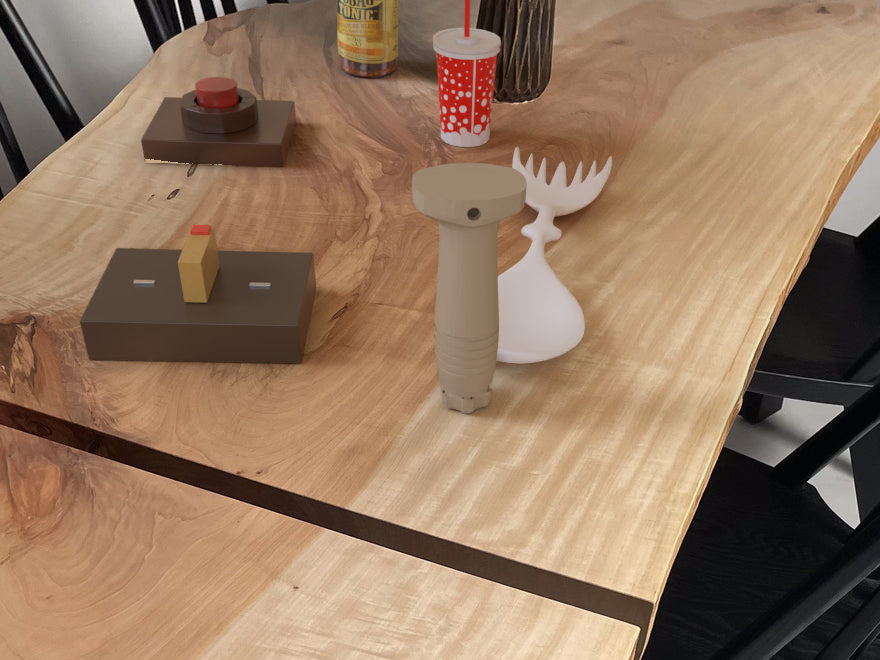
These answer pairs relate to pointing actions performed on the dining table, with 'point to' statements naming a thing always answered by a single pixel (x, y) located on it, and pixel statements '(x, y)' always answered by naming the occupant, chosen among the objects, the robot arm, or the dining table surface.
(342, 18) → the brown tonic bottle
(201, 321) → the plate
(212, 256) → the lock knob
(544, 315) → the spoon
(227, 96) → the bell button
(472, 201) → the handle
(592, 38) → the dining table surface
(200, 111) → the block
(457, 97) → the beverage cup
